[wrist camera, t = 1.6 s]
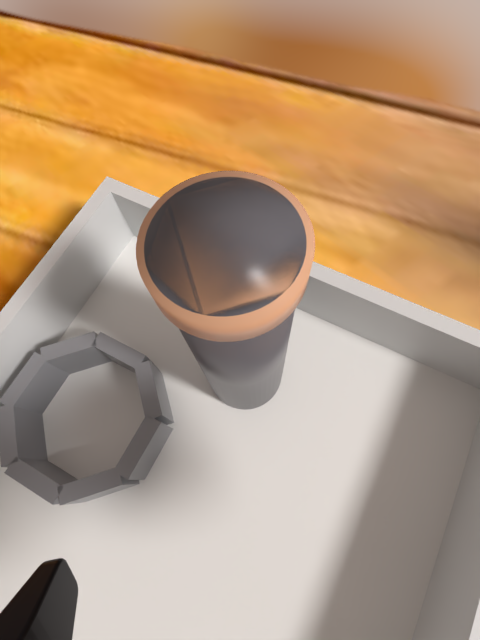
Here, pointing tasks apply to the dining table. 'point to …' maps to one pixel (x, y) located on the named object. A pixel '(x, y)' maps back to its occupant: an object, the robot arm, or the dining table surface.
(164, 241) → the capped peg
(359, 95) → the dining table surface
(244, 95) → the dining table surface
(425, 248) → the dining table surface
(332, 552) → the walled box
